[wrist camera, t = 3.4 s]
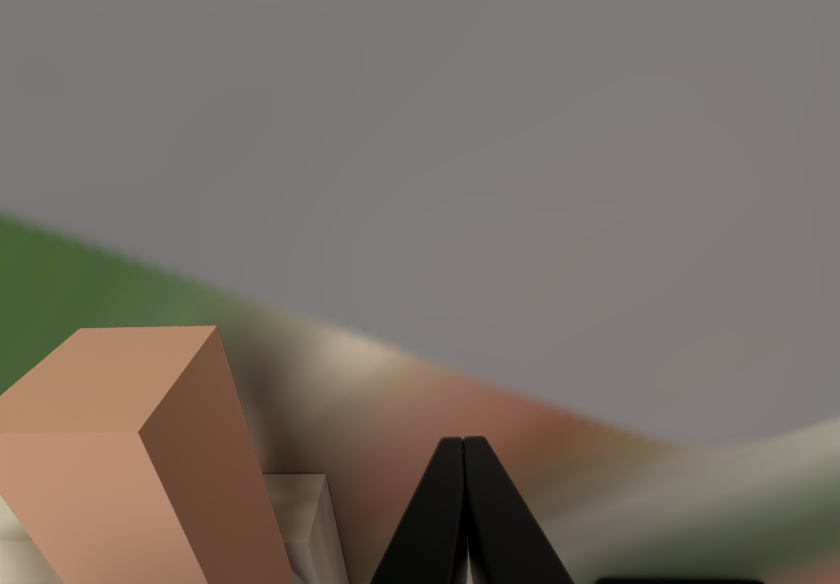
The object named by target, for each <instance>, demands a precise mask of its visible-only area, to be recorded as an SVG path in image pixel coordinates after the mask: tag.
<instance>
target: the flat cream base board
mask: <svg viewBox="0 0 840 584" xmlns="http://www.w3.org/2000/svg"><path fill="white" fill-rule="evenodd" d="M263 478H264V481H265V484H266V487H267V491H268V494H269V497H270V500H271V504H272V507H273V510H274V513H275V517H276V520H277V523H278V526H279V530H280V533H281V536H282V539H283V543H284V546H285V549H286V552H287V556H288V559H289V562H290V565H291V569H292V571H293V572H294V573H296V574H297V575H298V576H299V577H301V578H302V579H303V581H304V582H305V583H306V584H349V581H348V577H347V572H346V567H345V563H344V558H343V553H342V549H341V544H340V539H339V535H338V530H337V525H336V521H335V516H334V511H333V507H332V502H331V497H330V493H329V488H328V483H327V479H326V474H263ZM0 584H64V583H63V582H62V580H61V579H60V578H59V576H58V575H57V573H56V572H55V571H54V569H53V568H52V566H51V565H50V564H49V562H48V561H47V559H46V558H45V557H44V555H43V554H42V552H41V551H40V550H39V548H38V547H37V546H36V544H35V543H34V541H33V540H32V539H31V537H30V536H29V534H28V533H27V532H26V530H25V529H24V527H23V526H22V525H21V523H20V522H19V520H18V519H17V518H16V516H15V515H14V514H13V512H12V511H11V509H10V508H9V507H8V505H7V504H6V502H5V501H4V500H3V498H2V497H1V495H0Z"/></svg>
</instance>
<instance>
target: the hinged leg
mask: <svg viewBox="0 0 840 584" xmlns="http://www.w3.org/2000/svg"><path fill="white" fill-rule="evenodd" d="M0 495H1V497H2V498H3V500H4V501H5V502H6V504H7V505H8V507H9V508H10V509H11V511H12V512H13V514H14V515H15V516H16V518H17V519H18V520H19V522H20V523H21V525H22V526H23V527H24V529H25V530H26V532H27V533H28V534H29V536H30V537H31V539H32V540H33V541H34V543H35V544H36V546H37V547H38V548H39V550H40V551H41V552H42V554H43V555H44V557H45V558H46V559H47V561H48V562H49V564H50V565H51V566H52V568H53V569H54V571H55V572H56V573H57V575H58V576H59V578H60V579H61V580H62V582H63V583H64V584H306V583H305V582H304V581H303V579H302V578H301V577H299V576H298V575H297V574H296V573H294V572H293V571H292V569H291V565H290V562H289V559H288V556H287V552H286V549H285V546H284V543H283V539H282V536H281V533H280V530H279V526H278V523H277V520H276V517H275V513H274V510H273V507H272V504H271V500H270V497H269V494H268V491H267V487H266V484H265V481H264V478H263V474H262V471H261V468H260V465H259V461H258V458H257V455H256V452H255V448H254V445H253V442H252V439H251V435H250V432H249V429H248V426H247V422H246V419H245V416H244V413H243V409H242V406H241V403H240V400H239V396H238V393H237V390H236V387H235V384H234V380H233V377H232V374H231V371H230V367H229V364H228V361H227V358H226V354H225V351H224V348H223V345H222V341H221V338H220V335H219V332H218V328H217V326H177V327H130V328H83V329H79V330H78V331H76V332H75V333H74V334H73V335H72V336H71V337H69V338H68V339H67V340H66V341H65V342H63V343H62V344H61V345H60V346H59V347H58V348H56V349H55V350H54V351H53V352H52V353H51V354H49V355H48V356H47V357H46V358H45V359H43V360H42V361H41V362H40V363H39V364H38V365H36V366H35V367H34V368H33V369H32V370H30V371H29V372H28V373H27V374H26V375H25V376H23V377H22V378H21V379H20V380H19V381H18V382H16V383H15V384H14V385H13V386H12V387H10V388H9V389H8V390H7V391H6V392H5V393H3V394H2V395H1V396H0Z"/></svg>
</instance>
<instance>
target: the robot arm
mask: <svg viewBox="0 0 840 584" xmlns="http://www.w3.org/2000/svg"><path fill="white" fill-rule="evenodd" d="M463 449H464V453H463ZM464 472H465V473H464ZM465 492H466V493H465ZM466 513H467V516H466ZM467 533H468V539H467ZM468 550H469V560H470V568H471V574H472V580H473V584H575V583H574V582H573V580H572V578H571V577H570V575H569V573H568V572H567V570H566V568H565V567H564V565H563V564H562V562H561V560H560V559H559V557H558V555H557V554H556V552H555V550H554V549H553V547H552V546H551V544H550V542H549V541H548V539H547V537H546V536H545V534H544V533H543V531H542V529H541V528H540V526H539V524H538V523H537V521H536V519H535V518H534V516H533V515H532V513H531V511H530V510H529V508H528V506H527V505H526V503H525V501H524V500H523V498H522V497H521V495H520V493H519V492H518V490H517V488H516V487H515V485H514V483H513V482H512V480H511V479H510V477H509V475H508V474H507V472H506V470H505V469H504V467H503V466H502V464H501V462H500V461H499V459H498V457H497V456H496V454H495V452H494V451H493V449H492V448H491V446H490V444H489V443H488V441H487V439H486V438H485V437H483V436H466V437H464V439H462V438H461V437H443V438H441V439H440V441H439V443H438V445H437V447H436V449H435V451H434V453H433V455H432V457H431V459H430V461H429V463H428V465H427V467H426V469H425V471H424V473H423V475H422V477H421V480H420V482H419V484H418V486H417V488H416V490H415V492H414V494H413V496H412V498H411V500H410V502H409V504H408V506H407V508H406V510H405V512H404V514H403V516H402V518H401V520H400V522H399V524H398V527H397V529H396V531H395V533H394V535H393V537H392V539H391V541H390V543H389V545H388V547H387V549H386V551H385V553H384V555H383V557H382V559H381V561H380V563H379V565H378V567H377V569H376V571H375V573H374V576H373V578H372V580H371V582H370V584H467V569H468ZM597 584H765V583H763V582H736V581H644V580H605V581H601V582H599V583H597Z"/></svg>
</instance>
